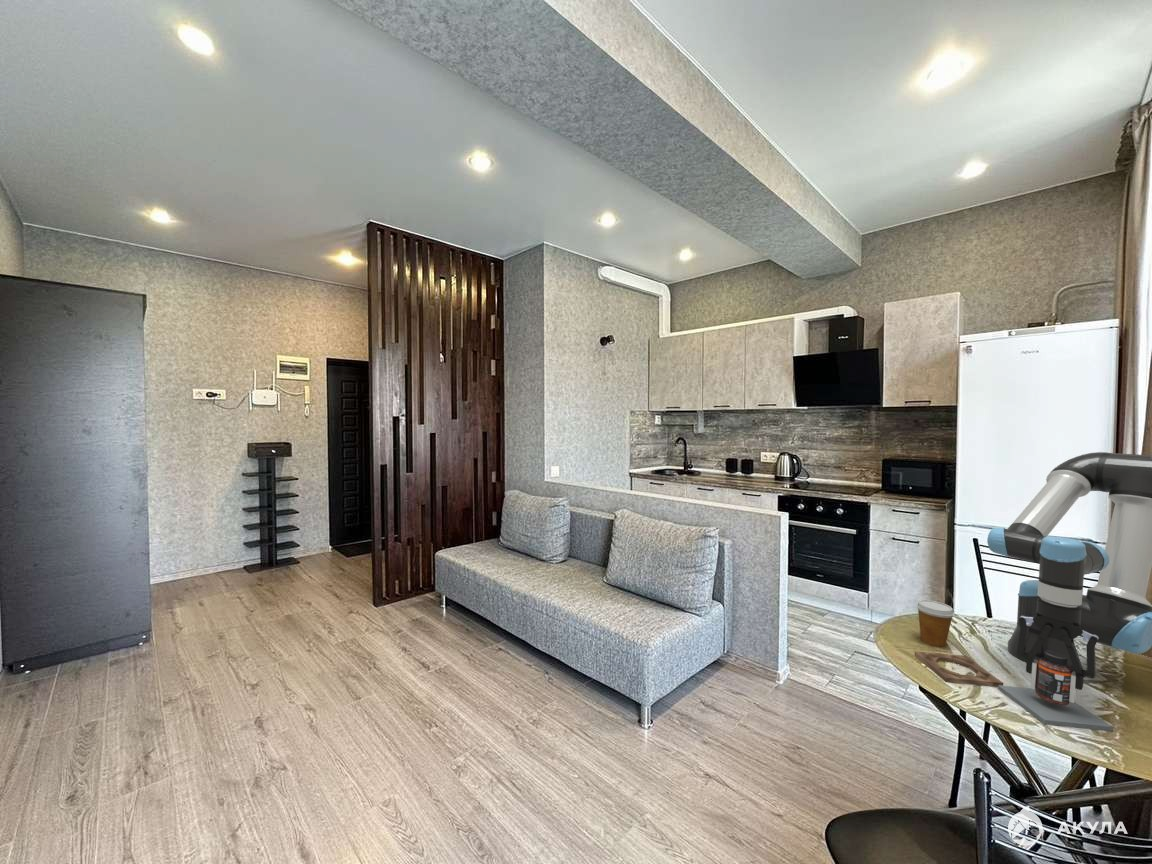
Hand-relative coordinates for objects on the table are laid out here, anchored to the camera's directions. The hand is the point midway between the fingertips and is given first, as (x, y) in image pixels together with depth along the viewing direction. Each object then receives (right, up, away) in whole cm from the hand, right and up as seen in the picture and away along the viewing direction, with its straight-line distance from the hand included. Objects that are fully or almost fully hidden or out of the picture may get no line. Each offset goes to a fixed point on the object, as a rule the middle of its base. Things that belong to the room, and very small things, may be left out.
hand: (1052, 693), depth 113 cm
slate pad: (0, -4, 0) cm, 4 cm away
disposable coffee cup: (-4, -3, +33) cm, 33 cm away
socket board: (-10, -3, +16) cm, 20 cm away
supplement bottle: (0, -2, 0) cm, 2 cm away
